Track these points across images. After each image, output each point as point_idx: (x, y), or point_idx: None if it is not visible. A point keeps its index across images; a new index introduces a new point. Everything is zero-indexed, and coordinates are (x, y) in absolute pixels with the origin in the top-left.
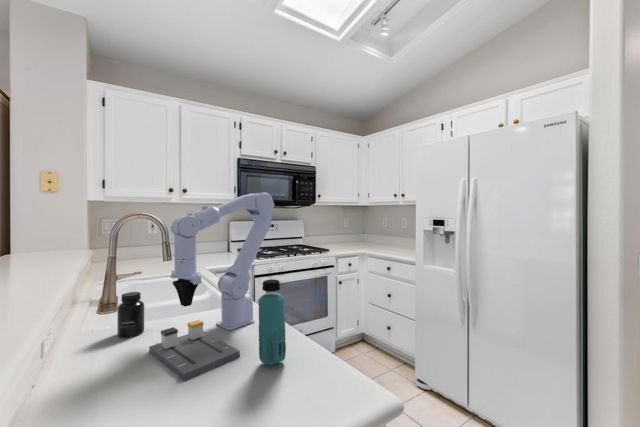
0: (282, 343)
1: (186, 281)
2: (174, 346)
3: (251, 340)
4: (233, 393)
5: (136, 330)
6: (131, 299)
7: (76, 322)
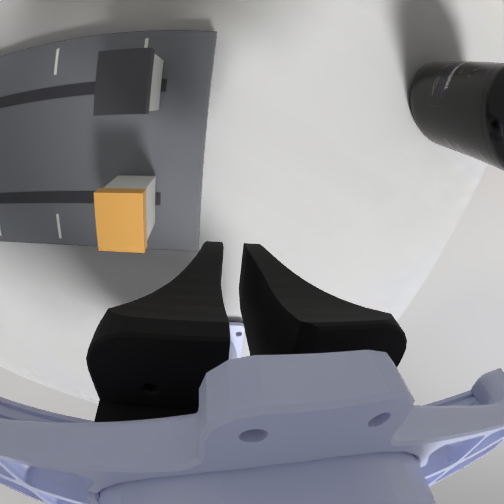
0: None
1: (134, 416)
2: None
3: (43, 309)
4: None
5: (420, 96)
6: None
7: None
